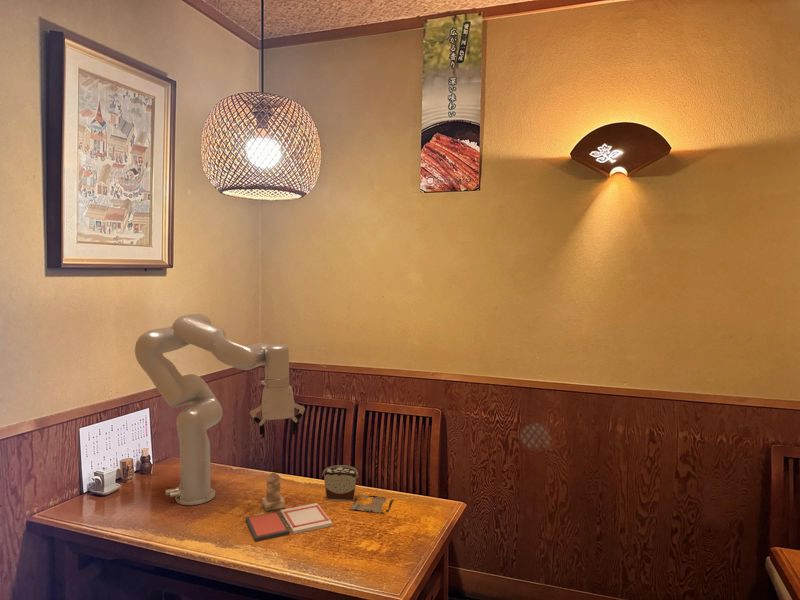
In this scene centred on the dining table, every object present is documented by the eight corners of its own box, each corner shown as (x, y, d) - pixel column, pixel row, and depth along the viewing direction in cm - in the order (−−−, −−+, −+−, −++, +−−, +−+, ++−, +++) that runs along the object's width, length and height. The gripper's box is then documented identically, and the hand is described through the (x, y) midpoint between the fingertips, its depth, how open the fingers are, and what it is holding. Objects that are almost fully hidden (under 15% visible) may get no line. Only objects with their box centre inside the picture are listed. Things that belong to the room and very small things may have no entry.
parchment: (387, 515, 171) (387, 512, 171) (348, 511, 174) (348, 508, 174) (395, 499, 183) (395, 496, 183) (358, 495, 186) (358, 492, 186)
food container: (361, 493, 187) (361, 465, 186) (357, 501, 181) (358, 472, 180) (326, 491, 188) (326, 463, 187) (322, 499, 182) (322, 470, 181)
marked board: (293, 534, 158) (293, 530, 158) (280, 513, 171) (280, 509, 171) (332, 525, 163) (332, 522, 163) (316, 506, 177) (316, 502, 177)
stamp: (266, 512, 172) (266, 478, 171) (262, 504, 177) (262, 471, 176) (284, 508, 174) (284, 475, 174) (280, 501, 180) (280, 468, 179)
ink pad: (255, 541, 153) (255, 537, 153) (245, 520, 166) (245, 517, 166) (289, 534, 158) (289, 530, 158) (278, 514, 170) (277, 510, 170)
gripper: (250, 387, 167) (251, 441, 168) (306, 383, 173) (306, 435, 174) (249, 382, 174) (250, 434, 175) (302, 378, 180) (303, 429, 181)
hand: (278, 435), depth 175 cm, fingers open, 9 cm apart
